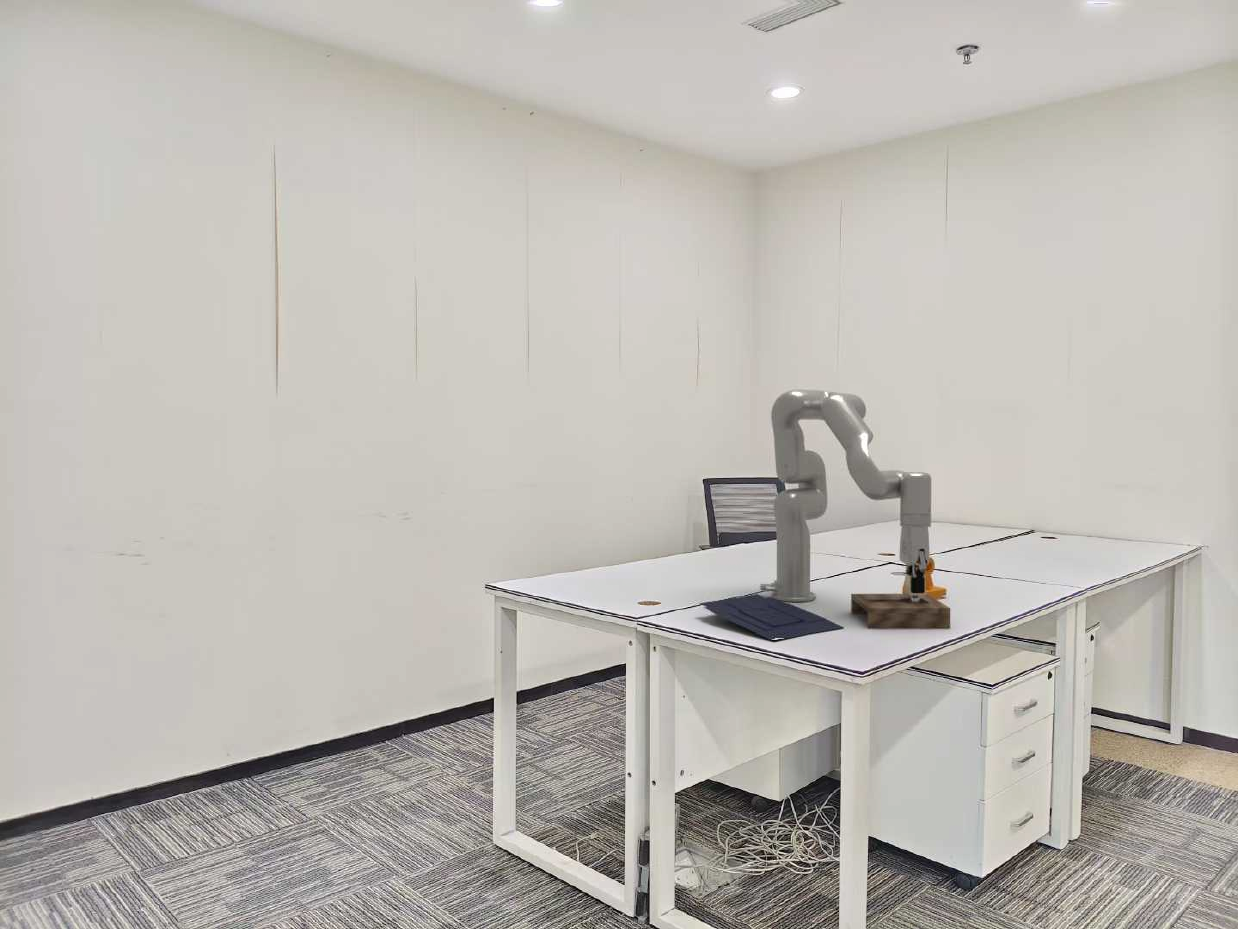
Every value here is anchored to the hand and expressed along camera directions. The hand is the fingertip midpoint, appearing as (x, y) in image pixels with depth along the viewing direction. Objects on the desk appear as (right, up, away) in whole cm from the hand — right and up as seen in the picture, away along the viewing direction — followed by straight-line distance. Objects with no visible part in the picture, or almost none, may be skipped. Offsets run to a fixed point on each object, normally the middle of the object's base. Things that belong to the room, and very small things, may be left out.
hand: (915, 590), depth 230 cm
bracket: (+12, -6, +28) cm, 32 cm away
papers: (-38, -8, -2) cm, 39 cm away
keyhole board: (-4, -8, +1) cm, 9 cm away
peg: (0, -6, 0) cm, 6 cm away
